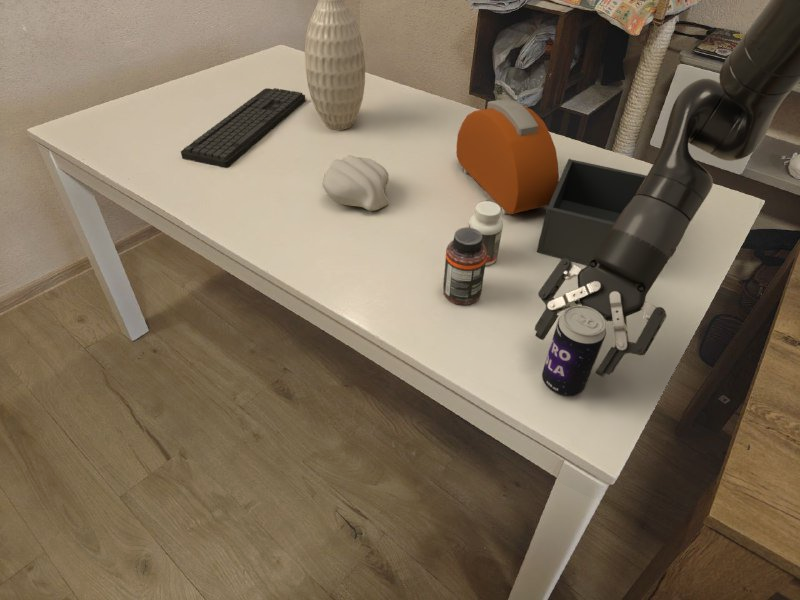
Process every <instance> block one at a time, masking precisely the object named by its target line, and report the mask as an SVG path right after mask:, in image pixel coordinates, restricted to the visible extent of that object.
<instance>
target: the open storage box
mask: <svg viewBox="0 0 800 600" xmlns="http://www.w3.org/2000/svg"><path fill="white" fill-rule="evenodd" d="M647 175H648V174H647ZM647 175H646V174H642V173H636V172H631V171H627V170H623V169H619V168H613V167H609V166H605V165H599V164H595V163H590V162H586V161H580V160H576V159H571V158H568V159H567V161H566V164H565V166H564V169H563V171H562V173H561V175H560V177H559V182H558V185H557V187H556V189H555V191H554V194H553V196H552V198H551V201H550V203H549V205H547V206H546V207H547V208H546V210H545V214H544V218H543V223H542V229H541V231H540V236H539V239H538V240H539V241H538V245H537V249H536V253H539V254H542V255H546V256H550V257H553V258H557V259H560V260H562V259H563V258H567V259H569V260H570V262H571V263H576V264H581V265H584V266H586V267H587V266H588V265H589V263H590V262H591V260H592V258H593V257H594V255H595V254H596V252H597V250H598V249H599V247H600V246H601V244H602V242H603V241H604V239H605V238H606V236H607V235H608V233H609V231H610V230H611V228H612V227H613V225H614V223H615V222H616V220H617V219H618V217H619V215H620V214H621V212H622V211H623V210H624V208H625V207H626V206H627V205H628V204H629V202H630V201H631V200H632V198H633V197H634V196H635V194H636V192H637V191H638V189H639V187H640V186H641V184H642V183H643V181H644V180H645V178H646V177H647Z"/></svg>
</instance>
